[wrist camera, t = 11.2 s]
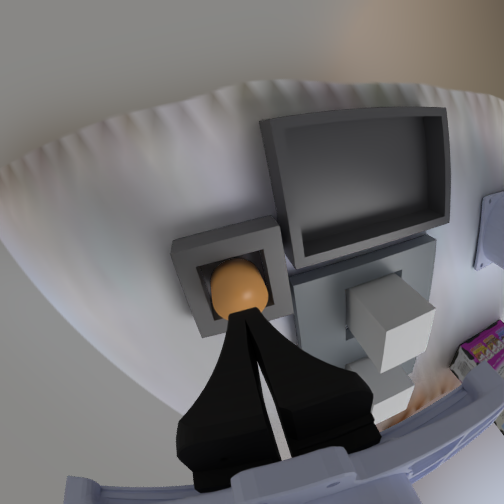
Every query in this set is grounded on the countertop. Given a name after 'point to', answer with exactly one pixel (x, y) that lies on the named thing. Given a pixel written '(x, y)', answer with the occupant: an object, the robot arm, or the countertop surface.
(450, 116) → the countertop surface
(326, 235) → the tote
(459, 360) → the candy bar box
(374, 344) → the pale grey block
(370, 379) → the seated block
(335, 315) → the grey slotted board
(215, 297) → the orange button
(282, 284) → the button housing
